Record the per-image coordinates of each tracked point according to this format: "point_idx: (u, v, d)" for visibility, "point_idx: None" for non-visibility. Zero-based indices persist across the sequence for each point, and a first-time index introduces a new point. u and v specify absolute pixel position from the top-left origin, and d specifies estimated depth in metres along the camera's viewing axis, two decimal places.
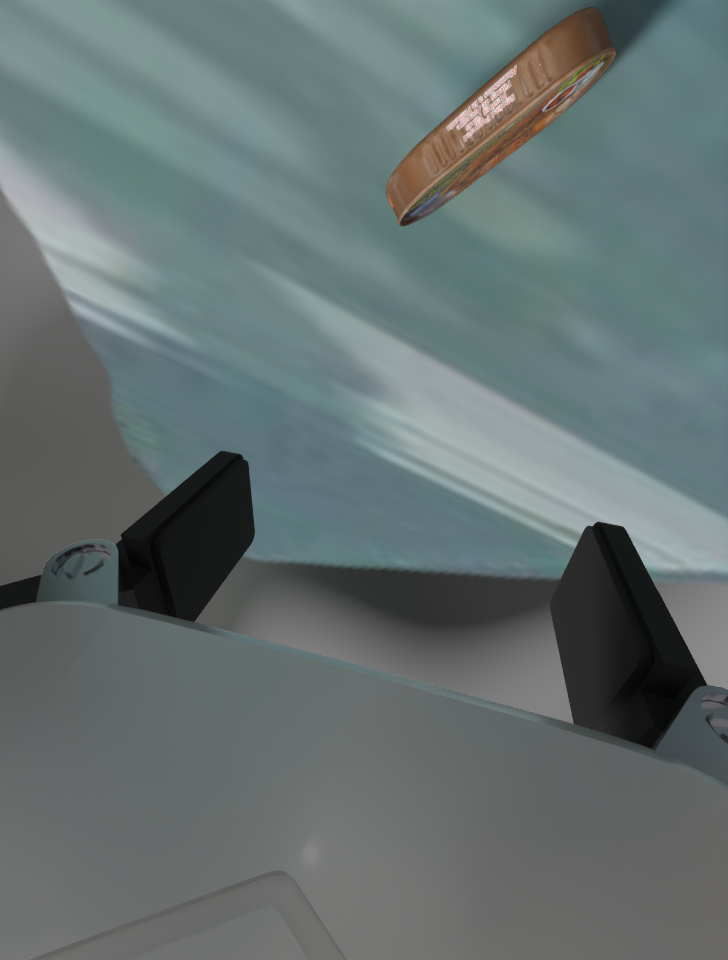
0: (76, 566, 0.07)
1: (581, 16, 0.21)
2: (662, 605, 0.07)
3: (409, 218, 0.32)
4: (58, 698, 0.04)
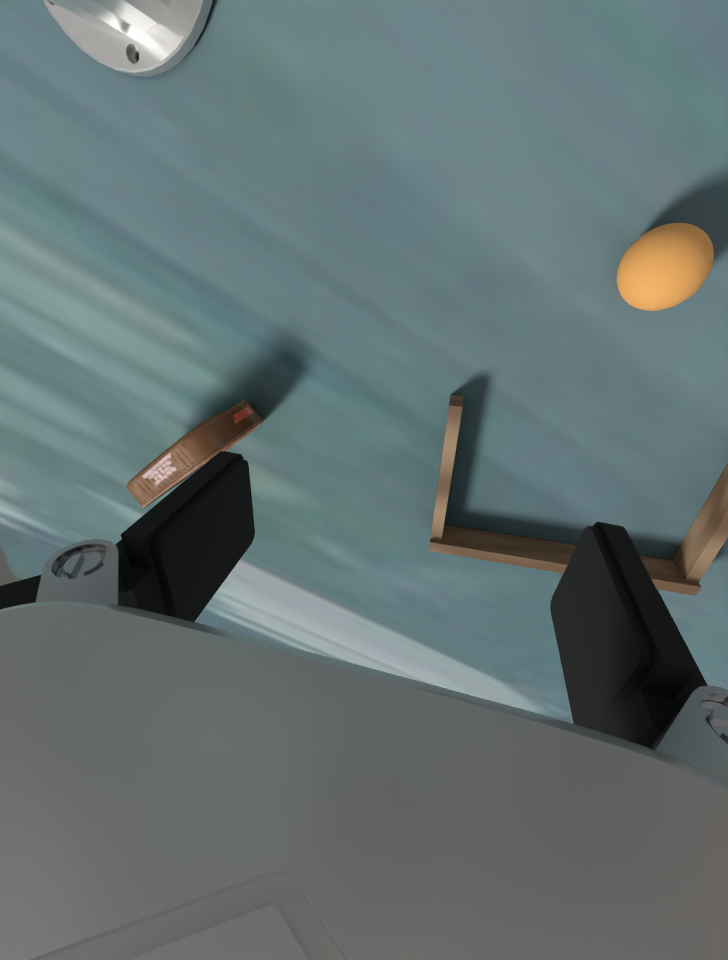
0: (76, 566, 0.07)
1: (203, 428, 0.30)
2: (662, 605, 0.07)
3: None
4: (58, 698, 0.04)
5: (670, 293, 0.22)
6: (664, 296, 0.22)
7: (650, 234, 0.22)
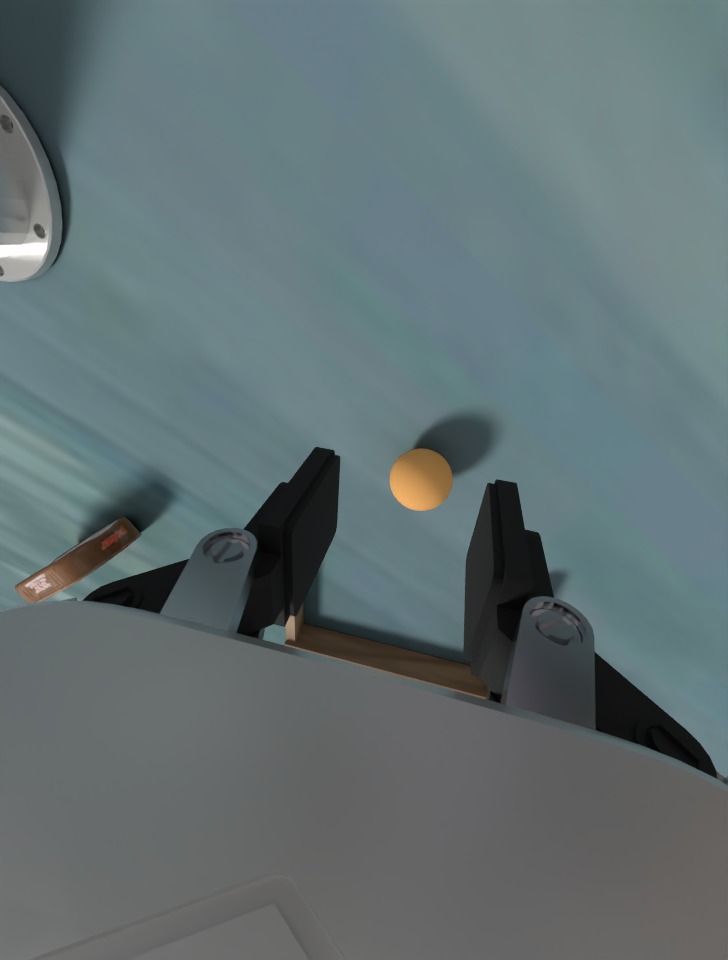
0: (221, 552, 0.08)
1: (71, 556, 0.35)
2: (524, 539, 0.09)
3: None
4: (58, 698, 0.04)
5: (417, 507, 0.28)
6: (414, 507, 0.28)
7: (403, 458, 0.28)
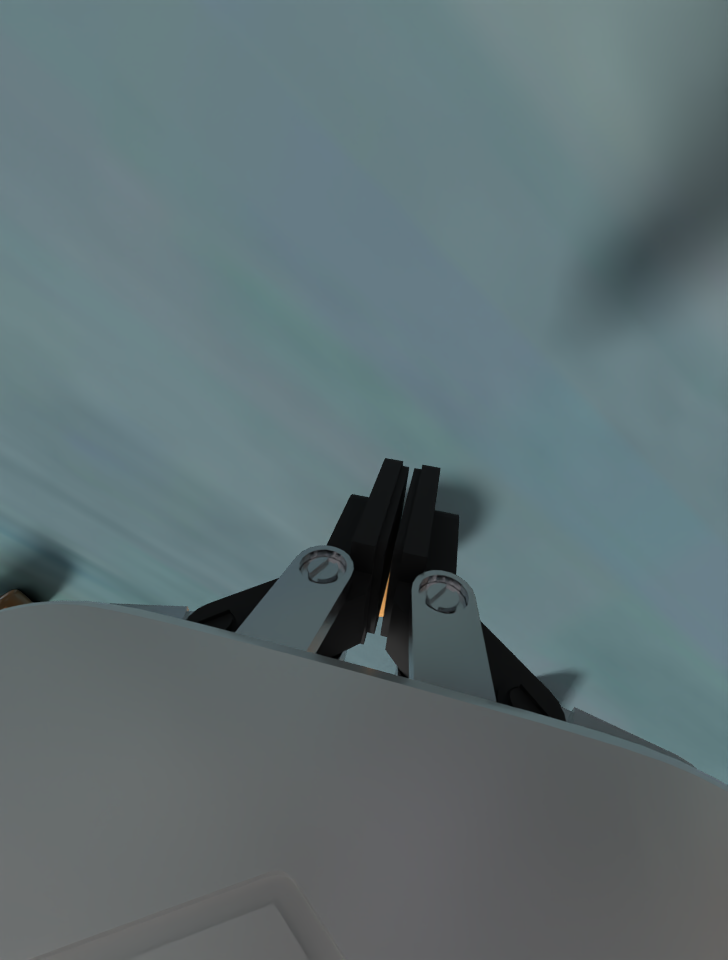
0: (318, 571, 0.08)
1: None
2: (431, 518, 0.09)
3: None
4: (58, 698, 0.04)
5: None
6: None
7: None
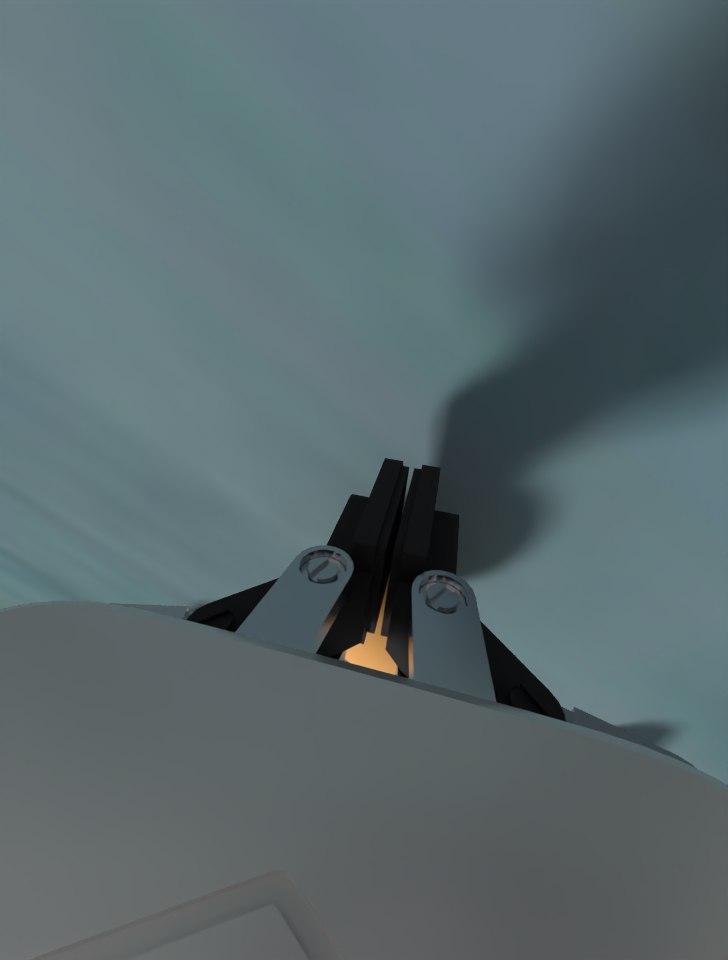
0: (318, 571, 0.08)
1: None
2: (431, 518, 0.09)
3: None
4: (58, 698, 0.04)
5: None
6: None
7: None
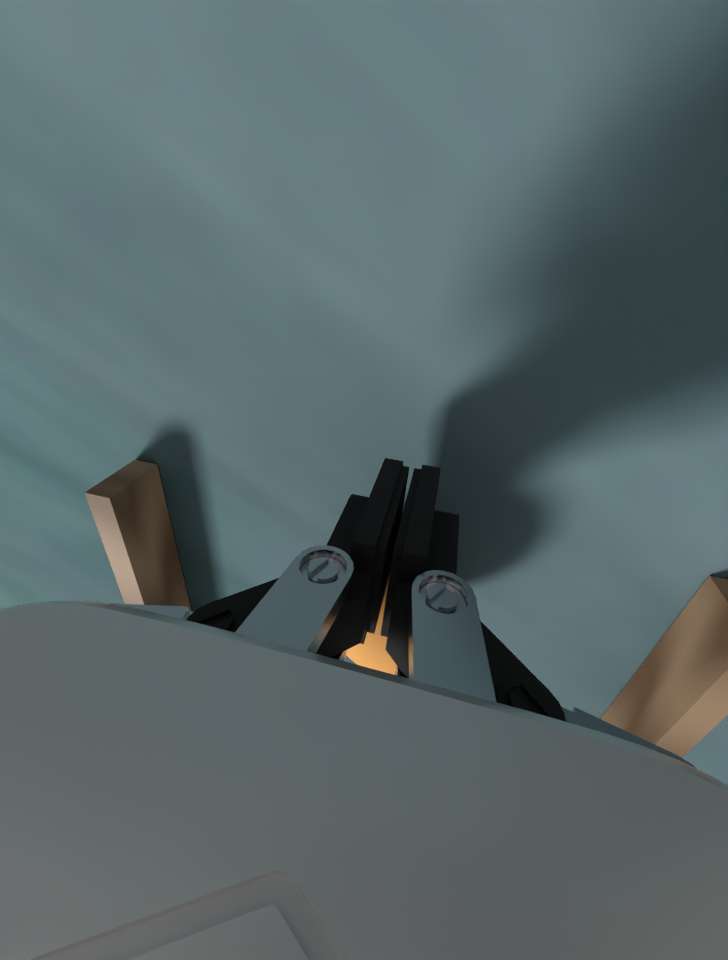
0: (318, 571, 0.08)
1: None
2: (431, 518, 0.09)
3: None
4: (58, 698, 0.04)
5: None
6: None
7: None
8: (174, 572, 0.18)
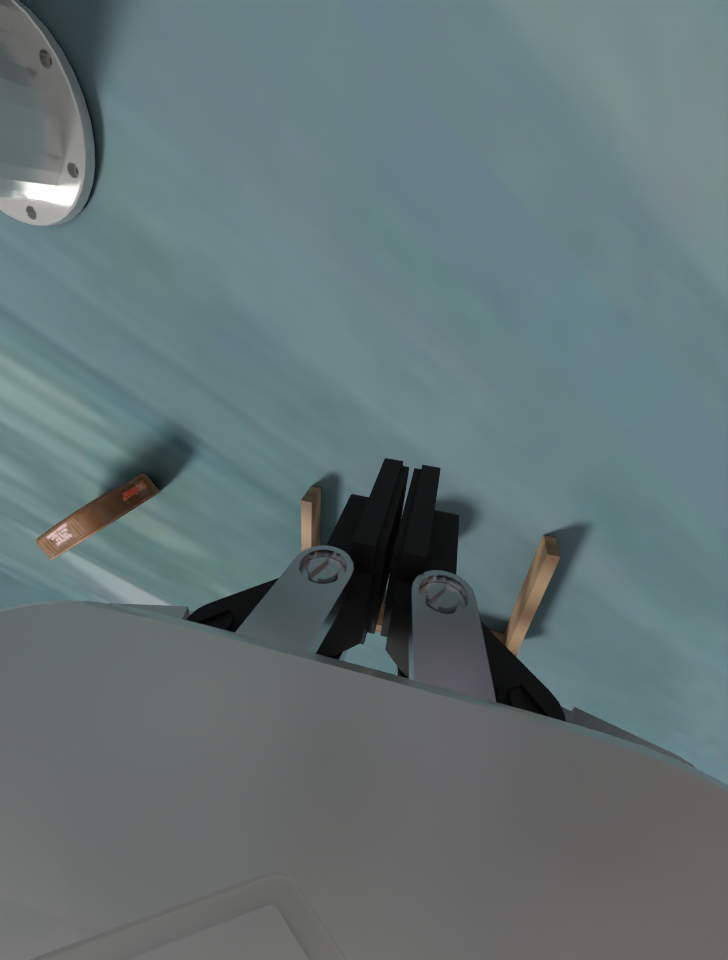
0: (318, 571, 0.08)
1: (92, 505, 0.36)
2: (431, 518, 0.09)
3: None
4: (58, 698, 0.04)
5: None
6: None
7: None
8: (318, 537, 0.40)
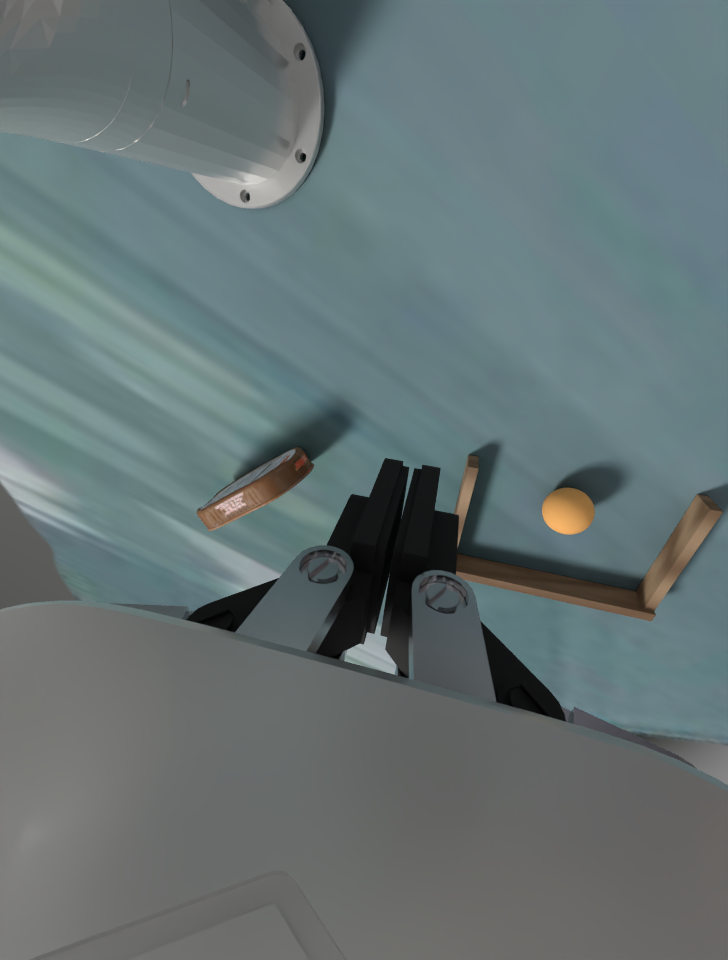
0: (318, 571, 0.08)
1: (272, 474, 0.38)
2: (431, 518, 0.09)
3: None
4: (58, 698, 0.04)
5: None
6: None
7: (544, 519, 0.39)
8: None
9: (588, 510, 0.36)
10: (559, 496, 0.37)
